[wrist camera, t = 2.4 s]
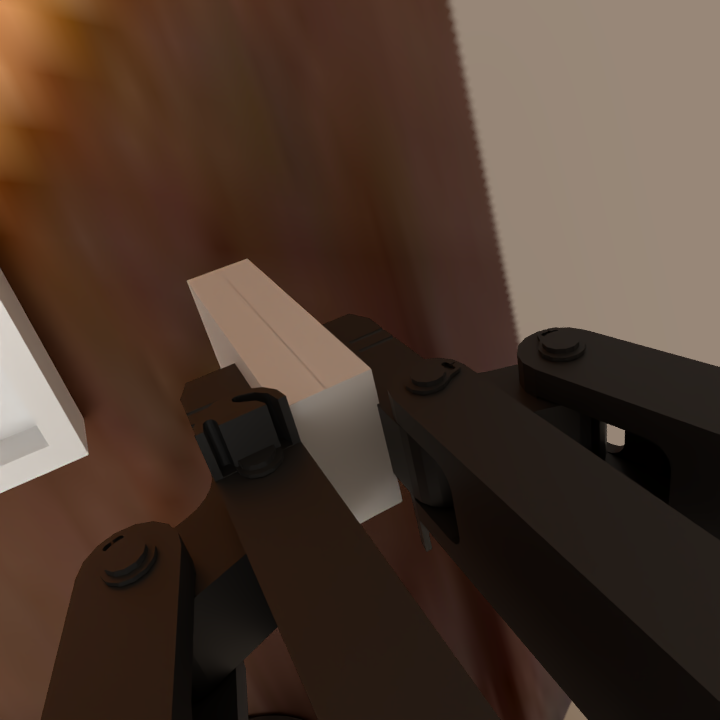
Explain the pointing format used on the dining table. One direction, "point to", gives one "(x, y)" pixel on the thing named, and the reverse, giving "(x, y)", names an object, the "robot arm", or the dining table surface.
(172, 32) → the dining table surface
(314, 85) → the dining table surface
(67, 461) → the white rectangular slab
